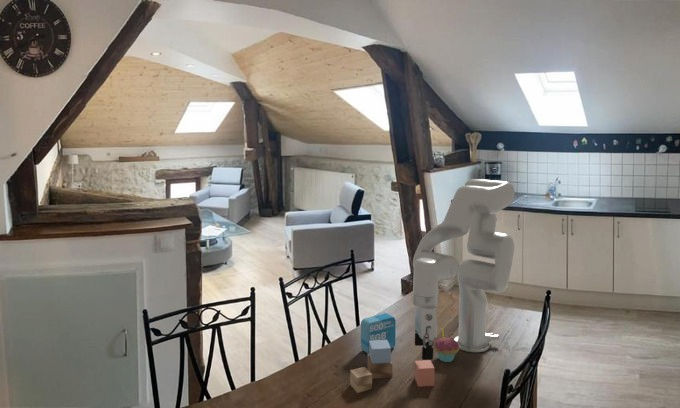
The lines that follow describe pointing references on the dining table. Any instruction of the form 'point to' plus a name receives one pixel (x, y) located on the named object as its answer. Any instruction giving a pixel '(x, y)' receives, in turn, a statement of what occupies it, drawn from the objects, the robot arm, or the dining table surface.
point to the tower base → (380, 369)
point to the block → (360, 379)
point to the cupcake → (446, 348)
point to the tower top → (379, 351)
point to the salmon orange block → (424, 373)
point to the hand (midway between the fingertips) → (423, 352)
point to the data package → (378, 330)
